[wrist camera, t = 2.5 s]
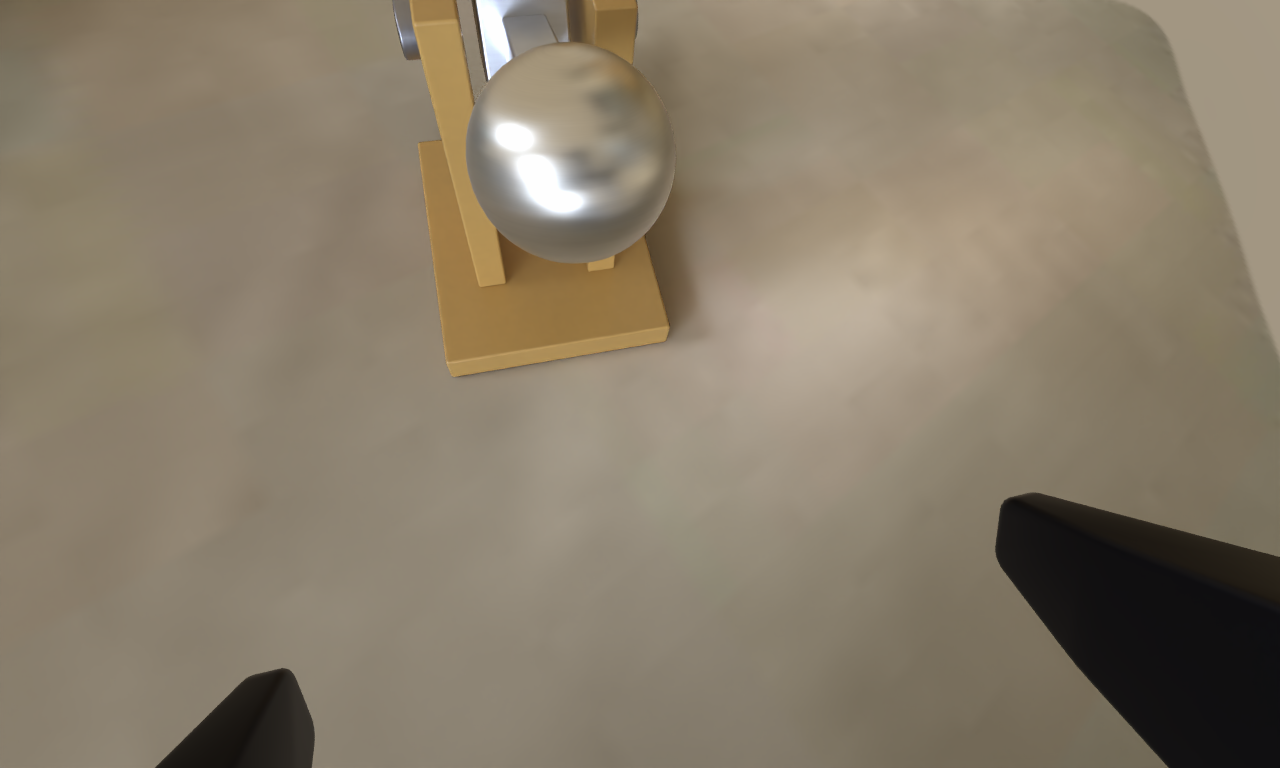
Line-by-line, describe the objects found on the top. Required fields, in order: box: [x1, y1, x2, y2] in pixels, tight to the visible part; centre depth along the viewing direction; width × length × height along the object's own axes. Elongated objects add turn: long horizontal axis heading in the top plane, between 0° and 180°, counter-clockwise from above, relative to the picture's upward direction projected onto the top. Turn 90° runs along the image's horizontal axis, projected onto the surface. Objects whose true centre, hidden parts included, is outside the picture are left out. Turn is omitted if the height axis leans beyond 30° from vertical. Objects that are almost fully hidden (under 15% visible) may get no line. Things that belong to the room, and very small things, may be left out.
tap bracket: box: [393, 0, 670, 377], centre depth 21 cm, size 10×8×12 cm
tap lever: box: [466, 0, 676, 264], centre depth 14 cm, size 11×4×4 cm, turn 14°
